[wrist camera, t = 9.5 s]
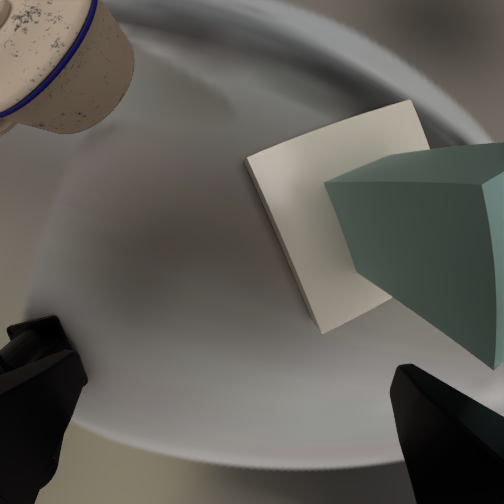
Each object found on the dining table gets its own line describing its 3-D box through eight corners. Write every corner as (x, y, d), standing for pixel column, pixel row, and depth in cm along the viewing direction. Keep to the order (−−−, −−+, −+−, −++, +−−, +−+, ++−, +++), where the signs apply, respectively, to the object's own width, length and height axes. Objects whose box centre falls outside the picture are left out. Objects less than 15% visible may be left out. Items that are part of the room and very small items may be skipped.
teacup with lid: (109, 8, 15) (50, -80, 4) (162, 82, 17) (103, -17, 6) (-2, 107, 16) (-100, 83, 4) (35, 189, 18) (-85, 203, 6)
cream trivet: (311, 319, 21) (322, 334, 19) (243, 161, 19) (246, 157, 16) (438, 250, 21) (456, 257, 19) (392, 106, 19) (410, 99, 16)
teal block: (356, 272, 18) (493, 370, 7) (323, 182, 17) (481, 184, 5) (416, 240, 18) (563, 294, 7) (389, 154, 17) (552, 140, 5)
